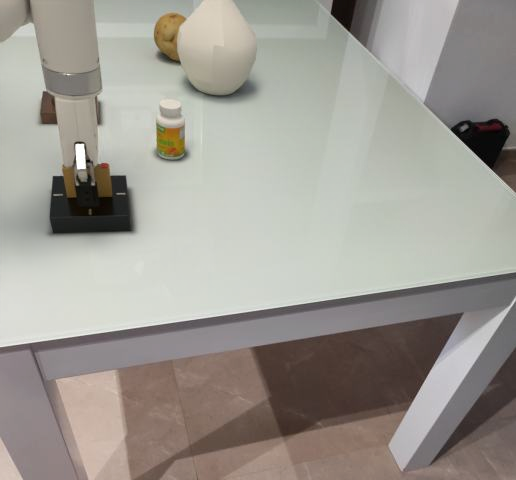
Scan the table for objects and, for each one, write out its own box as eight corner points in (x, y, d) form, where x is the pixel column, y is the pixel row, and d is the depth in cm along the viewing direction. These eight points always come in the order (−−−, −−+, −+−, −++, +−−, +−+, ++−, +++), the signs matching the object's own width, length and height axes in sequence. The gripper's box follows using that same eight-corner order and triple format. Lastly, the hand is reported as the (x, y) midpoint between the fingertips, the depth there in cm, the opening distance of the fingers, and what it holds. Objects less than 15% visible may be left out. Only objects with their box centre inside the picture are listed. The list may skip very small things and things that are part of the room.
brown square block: (42, 123, 103) (38, 103, 100) (44, 101, 109) (41, 82, 107) (98, 124, 106) (96, 104, 103) (98, 102, 112) (96, 83, 109)
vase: (266, 88, 127) (284, -61, 105) (223, 111, 116) (234, -51, 94) (207, 66, 133) (213, -81, 111) (161, 85, 122) (157, -74, 100)
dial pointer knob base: (52, 233, 80) (49, 216, 78) (55, 191, 88) (52, 174, 86) (131, 231, 83) (129, 214, 81) (127, 190, 91) (126, 174, 88)
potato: (188, 48, 139) (189, 6, 132) (197, 67, 132) (199, 23, 124) (151, 47, 137) (149, 4, 129) (157, 66, 129) (156, 21, 122)
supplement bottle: (152, 155, 100) (150, 105, 92) (164, 144, 103) (163, 94, 96) (177, 163, 99) (177, 113, 92) (189, 151, 102) (189, 102, 95)
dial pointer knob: (67, 197, 82) (61, 167, 78) (67, 192, 83) (62, 162, 79) (112, 197, 84) (109, 167, 80) (112, 191, 85) (108, 162, 81)
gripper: (46, 52, 75) (65, 161, 87) (40, 104, 64) (62, 221, 76) (100, 54, 76) (111, 161, 89) (102, 106, 65) (114, 219, 78)
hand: (88, 188), depth 83 cm, fingers open, 9 cm apart
